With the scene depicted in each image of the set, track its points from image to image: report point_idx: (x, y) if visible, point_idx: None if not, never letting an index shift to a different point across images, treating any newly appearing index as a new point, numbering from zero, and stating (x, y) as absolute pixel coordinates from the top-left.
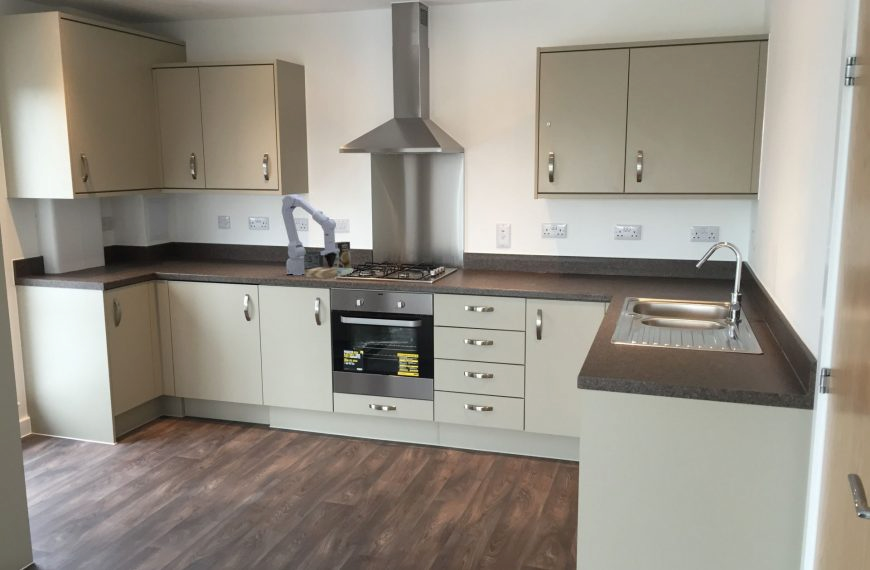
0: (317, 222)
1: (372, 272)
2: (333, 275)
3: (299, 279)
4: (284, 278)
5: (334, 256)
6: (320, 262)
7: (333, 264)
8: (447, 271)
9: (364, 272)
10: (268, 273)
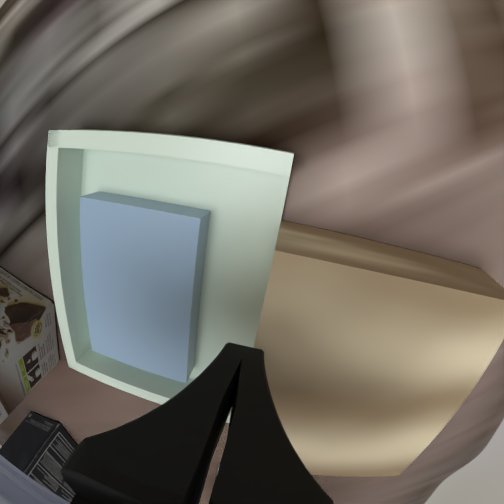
0: None
1: (51, 3)
2: (367, 242)
3: (466, 419)
4: (403, 483)
5: (179, 460)
6: (39, 443)
7: (221, 358)
8: None
9: (47, 60)
10: None
